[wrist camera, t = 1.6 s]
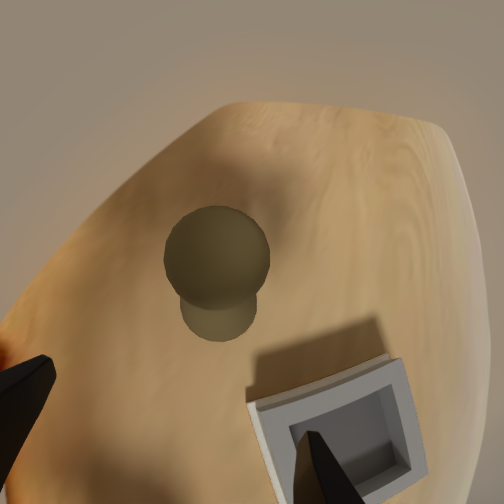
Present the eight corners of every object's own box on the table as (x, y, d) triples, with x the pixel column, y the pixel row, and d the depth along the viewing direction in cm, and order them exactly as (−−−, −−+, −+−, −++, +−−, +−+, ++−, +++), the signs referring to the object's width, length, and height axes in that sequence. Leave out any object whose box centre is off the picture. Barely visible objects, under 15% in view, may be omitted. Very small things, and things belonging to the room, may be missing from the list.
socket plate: (286, 524, 15) (296, 543, 12) (245, 402, 20) (249, 407, 17) (411, 467, 18) (433, 474, 15) (382, 354, 22) (404, 348, 19)
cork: (172, 332, 22) (132, 293, 12) (189, 261, 24) (170, 177, 14) (250, 348, 22) (275, 322, 12) (262, 275, 24) (291, 199, 14)
